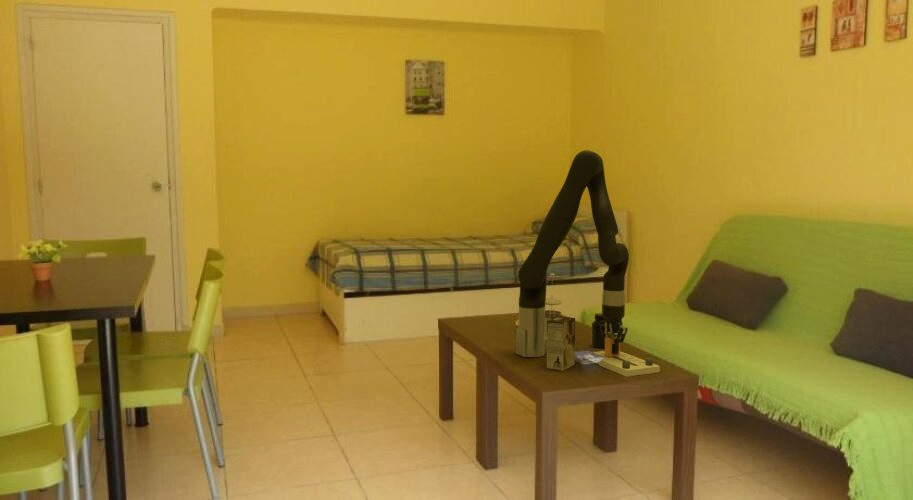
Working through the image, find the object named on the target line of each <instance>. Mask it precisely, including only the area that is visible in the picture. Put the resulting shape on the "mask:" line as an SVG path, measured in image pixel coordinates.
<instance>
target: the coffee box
mask: <svg viewBox="0 0 913 500" xmlns="http://www.w3.org/2000/svg"><path fill="white" fill-rule="evenodd" d="M561 316H562V315H561ZM561 316H558V317H555V318H553V319H551V320H548V321H547V339H546V368H547V369H548V370H549V369H550V370H557V371H561V372H563V371H565V370H568V369H570V368H571V367H572V366H574V365H576V364H575V363H576V358H575V357H576V317H571V316H570V317H569V316H562V317H561Z"/></svg>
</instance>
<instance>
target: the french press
mask: <svg viewBox="0 0 913 500" xmlns="http://www.w3.org/2000/svg"><path fill="white" fill-rule="evenodd" d="M549 276H550V277H551V283H554V281H553V279H554V277H555V273H553V272H550V273H549ZM561 304H563V301H562V300H561V299H558V298H557V297H553V296H551V297H546V300H545V306H546V305H548V306H558V305H561ZM555 309H556V308H555V307H553V309H551V308H549V310H546V309H545V340H547V321H548V320H551V319H553V318H555V317H558V316H561V317H563V316H562V315H561V314H562V311H559V310H555Z"/></svg>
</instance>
